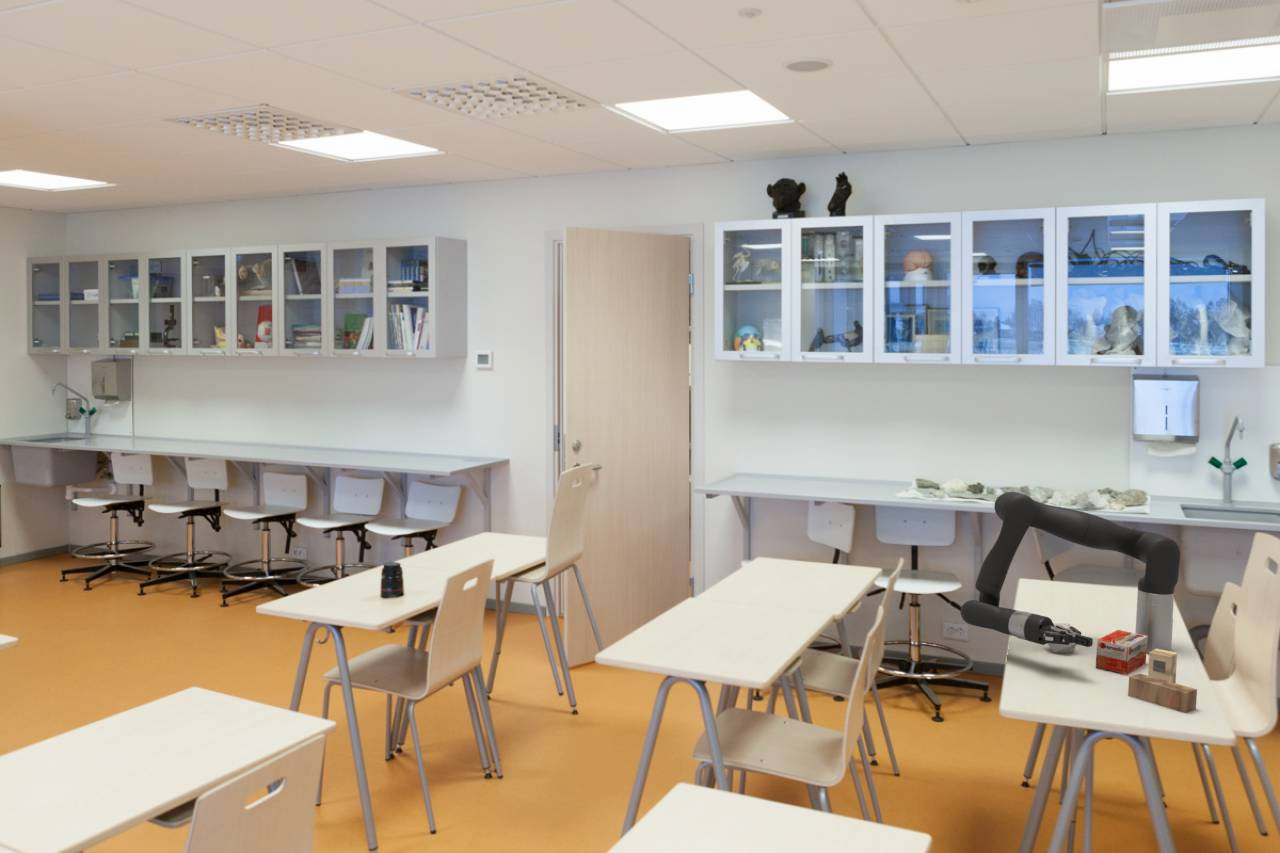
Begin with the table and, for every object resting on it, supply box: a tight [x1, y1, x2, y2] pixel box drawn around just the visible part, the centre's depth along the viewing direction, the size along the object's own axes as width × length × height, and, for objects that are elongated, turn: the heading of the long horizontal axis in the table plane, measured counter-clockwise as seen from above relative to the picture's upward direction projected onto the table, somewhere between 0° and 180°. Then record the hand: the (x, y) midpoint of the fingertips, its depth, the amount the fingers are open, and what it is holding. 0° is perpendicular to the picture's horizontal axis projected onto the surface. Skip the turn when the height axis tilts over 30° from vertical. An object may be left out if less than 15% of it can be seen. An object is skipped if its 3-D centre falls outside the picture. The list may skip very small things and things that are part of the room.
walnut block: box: [1127, 673, 1198, 714], centre depth 248 cm, size 5×5×14 cm
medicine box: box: [1095, 629, 1148, 676], centre depth 277 cm, size 15×8×8 cm, turn 135°
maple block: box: [1147, 649, 1178, 684], centre depth 259 cm, size 5×5×9 cm
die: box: [1046, 622, 1078, 654], centre depth 289 cm, size 8×9×10 cm
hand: (1091, 642), depth 263 cm, fingers closed
